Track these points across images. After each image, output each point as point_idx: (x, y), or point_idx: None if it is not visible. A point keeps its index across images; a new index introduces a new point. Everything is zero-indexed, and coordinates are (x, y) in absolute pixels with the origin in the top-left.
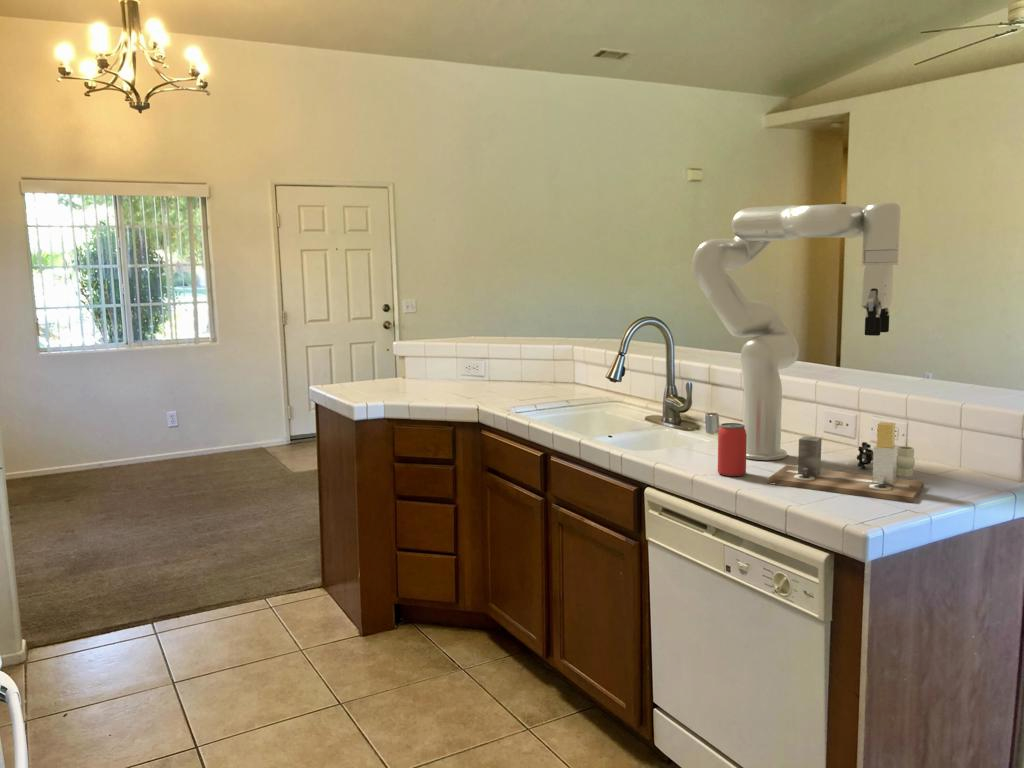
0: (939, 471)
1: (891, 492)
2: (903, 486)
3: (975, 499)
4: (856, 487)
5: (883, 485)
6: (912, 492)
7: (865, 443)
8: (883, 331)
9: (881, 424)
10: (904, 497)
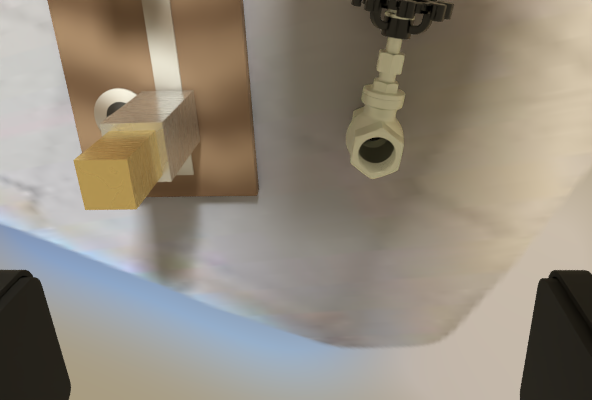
0: (460, 198)
1: None
2: None
3: (217, 292)
4: (85, 59)
5: None
6: None
7: (400, 14)
8: (527, 368)
9: (76, 172)
10: None
